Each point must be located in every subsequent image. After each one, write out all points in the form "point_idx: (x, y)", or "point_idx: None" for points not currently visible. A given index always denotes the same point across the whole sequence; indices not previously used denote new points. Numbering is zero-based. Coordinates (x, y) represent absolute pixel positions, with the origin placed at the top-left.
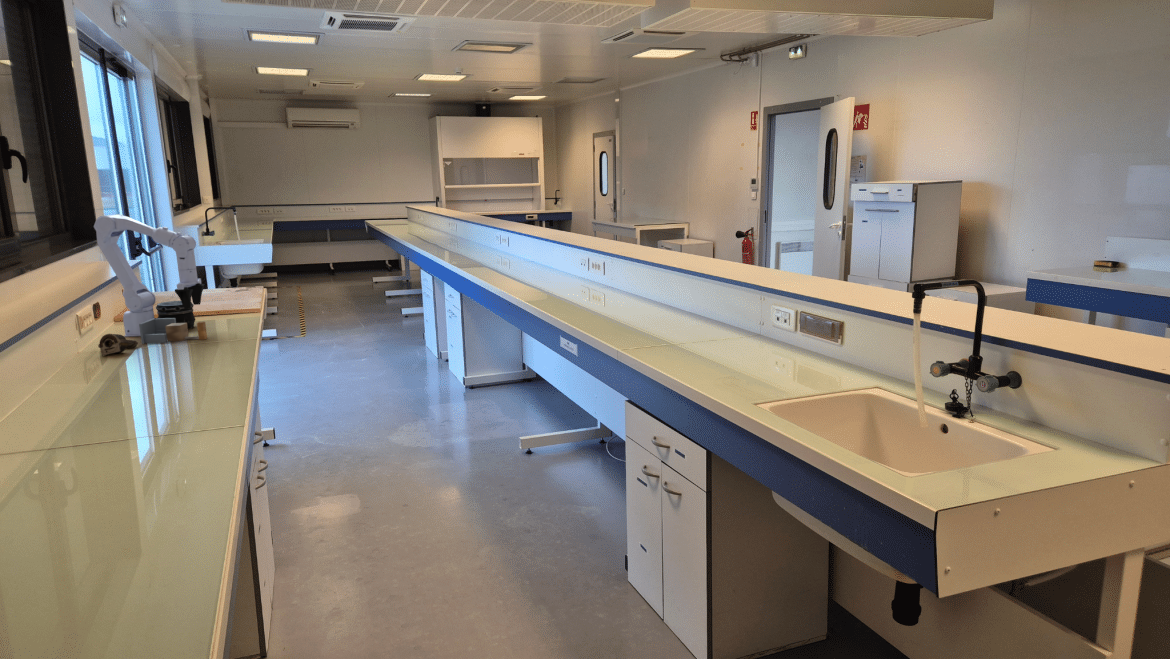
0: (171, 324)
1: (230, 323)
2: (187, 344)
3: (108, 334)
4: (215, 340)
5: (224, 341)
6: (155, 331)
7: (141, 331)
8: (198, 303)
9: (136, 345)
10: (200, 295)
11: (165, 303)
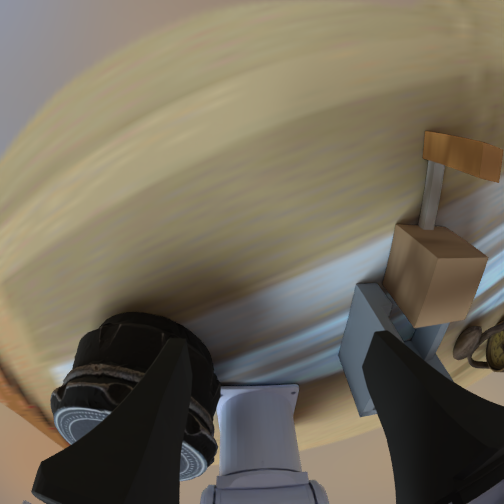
0: (445, 313)
1: (35, 177)
2: (492, 183)
3: None
4: (460, 86)
5: (476, 51)
6: None
7: (443, 369)
8: (185, 352)
9: (476, 326)
10: (154, 402)
11: None
